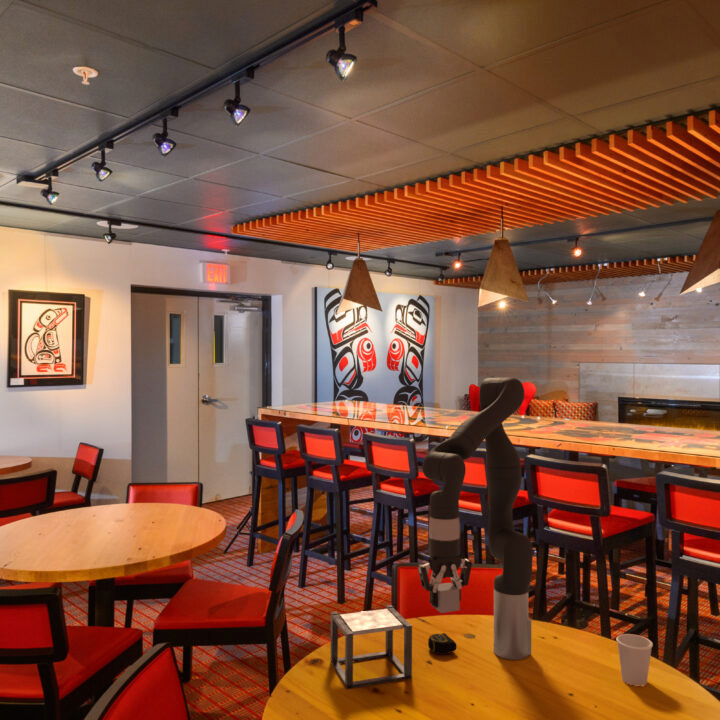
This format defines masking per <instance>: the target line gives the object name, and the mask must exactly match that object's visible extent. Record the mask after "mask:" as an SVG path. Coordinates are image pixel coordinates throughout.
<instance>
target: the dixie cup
mask: <svg viewBox="0 0 720 720" xmlns="http://www.w3.org/2000/svg"><path fill="white" fill-rule="evenodd" d="M615 639H616V642H617V649H618V656H619V665H620V674H621V680H622V679H623V680H622V682H623V683H625V682H626V683H628V684H627V685H629V684H631V685H636V686H637V685H638V686H642V685H645V684H646V683H647V684H648V676H649V671H650V670H649V669H650V663H651V662H650V661H651V655H652V648H653V647H654V646H653V645H654V644H653V642H652V641H651V640H650V639H648V638H646V637H645V636H642V635H638V634H631V633H621V634H619V635H617V637H616V638H615ZM626 683H625V684H626ZM647 684H646V685H647ZM631 685H630V686H631ZM646 685H645V686H646ZM636 686H635V687H636ZM642 687H643V686H642Z"/></svg>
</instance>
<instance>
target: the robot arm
mask: <svg viewBox="0 0 720 720" xmlns="http://www.w3.org/2000/svg"><path fill="white" fill-rule="evenodd" d="M478 394H479V395H478V397H479V406H480V412H477V413H476V414H474V415H472V416H470V417H468V418H467V419H466V420H464V421H463V422H461V423H460V425H459V426H458V427H457V428H456V429H455V431H454V432H453V433H452V434H451V435H450V436H449V438H447V439H446V440H444V441H442V442H441V443H439V444H438V445H436V446H435V447H433V448H432V449H430V451H429V452H428V453H427V454H426V455H425V456H424V458H423V460H422V464H421V467H422V468H421V469H422V474H423V476H425V478H427V479H428V480H430V481H435V482H441V483H444V485H443V489H442V490H435V491H433V492H432V493H431V494H430V497H429V523H428V551H429V553H428V554H429V559H428V562H427V563H424V564H420V563H419V564H418V565H417V570H418V576H419V580H420V583H421V587H422V589H424V590H425V591H426V592H429V603H430V605H431V606H432V608H434V609H435V608H438V592H437V590H438V587H439V584H442V582H443V581H442V580H443V579H446V578H450V580H451V584H452V585H454V586H455V587H457V588H458V589H459V603H460V602H461V600H462V588H463V587H464V586H468V585H469V581H470V576H471V571H472V567H473V562H472V561H471V560H469V559H468V558H461V555H460V554H461V524H460V514H459V513H460V504H459V501H460V496H461V492H462V488H463V483H464V480H465V477H466V469H467V467H466V463H465V461H466V460H468V459H470V458H471V457H472V456H473V454H474V453H475V452H476V451H477V449H479V447H480V446H481V444H482V443H483V442H485V457H486V459H485V460H486V465H485V466H486V475H487V476H486V478H487V489H488V491H487V493H488V509H489V515H488V517H489V519H488V536H487V537H488V539H487V540H488V541H487V542H488V549H489V553H490V554H491V556H492V557H493V558H494V559H496V560H497V561H499V562H501V563H502V564H503V565H502V574H499V575H496V576H495V577H494V580H493V652H494V654H495V655H496V656H498V657H500V658H502V659H505V660H506V659H507V660H512V661H513V660H514V661H517V660H518V661H519V660H523V659H524V660H525V659H526V658H527V657H528V656H531V655H532V619H531V617H529V586H530V583H531V580H532V574H533V555H534V554H533V553H534V551H533V544H532V541H531V539H530V537H528V535H526V534H524V533H522V532H520V531H517V530H515V528H514V521H513V518H514V517H513V508H514V504H515V501H516V499H517V497H518V495H519V491H520V489H521V485H522V465H521V464H522V463H521V457H520V455H519V453H518V451H517V448H516V447H515V446H514V444H513V442H512V441H511V439H510V438H509V436H508V434H507V433H506V430H505V428H504V425H503V423H504V422H506V420H507V419H508V418H509V417H511V416H512V415H513V414H514V413H515V412H517V411H518V410H519V409H520V408H521V406H522V404H523V403H524V399H525V388H524V385H523V383H522V381H521V380H519V379H518V378H516V377H515V378H514V377H507V376H506V377H488V378H487V377H486V378H484V379H483V380H482V382H481V383H480V385H479V393H478ZM484 440H485V441H484ZM459 568H461V570H460V575H459V572H458V570H459ZM430 570H431V575H430V580H429V575H428V574H429V572H430Z"/></svg>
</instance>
